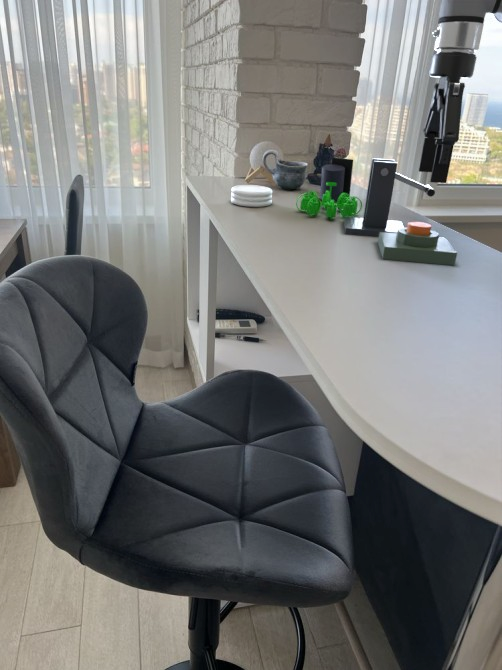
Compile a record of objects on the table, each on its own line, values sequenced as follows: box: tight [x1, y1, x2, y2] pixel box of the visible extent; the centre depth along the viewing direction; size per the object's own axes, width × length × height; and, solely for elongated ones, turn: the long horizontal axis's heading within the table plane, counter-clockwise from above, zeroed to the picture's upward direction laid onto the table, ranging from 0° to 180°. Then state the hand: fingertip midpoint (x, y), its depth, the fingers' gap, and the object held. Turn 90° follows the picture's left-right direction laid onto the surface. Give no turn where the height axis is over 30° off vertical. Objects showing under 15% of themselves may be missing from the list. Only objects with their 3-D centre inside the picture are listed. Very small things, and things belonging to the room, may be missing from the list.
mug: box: [261, 149, 309, 190], centre depth 140 cm, size 10×12×10 cm
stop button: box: [406, 221, 432, 236], centre depth 89 cm, size 4×4×2 cm
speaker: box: [319, 157, 354, 203], centre depth 129 cm, size 8×6×10 cm
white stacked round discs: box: [230, 184, 273, 208], centre depth 122 cm, size 10×10×4 cm
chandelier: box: [295, 182, 363, 221], centre depth 115 cm, size 15×15×7 cm
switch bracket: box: [343, 157, 405, 238], centre depth 102 cm, size 12×10×14 cm
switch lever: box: [395, 172, 436, 198], centre depth 100 cm, size 12×5×2 cm, turn 82°
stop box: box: [377, 226, 458, 266], centre depth 90 cm, size 12×10×4 cm
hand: (431, 177), depth 99 cm, fingers open, 13 cm apart
